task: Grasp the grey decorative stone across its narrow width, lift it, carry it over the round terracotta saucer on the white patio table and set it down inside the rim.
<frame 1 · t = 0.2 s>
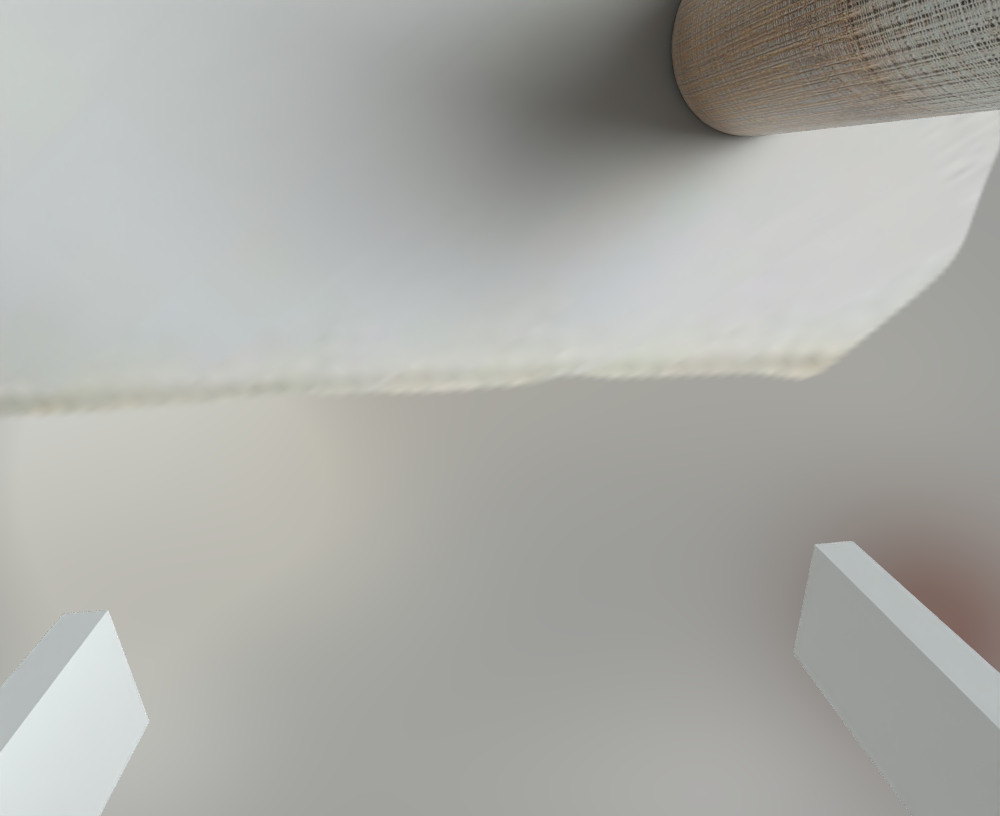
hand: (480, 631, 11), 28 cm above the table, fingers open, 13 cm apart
vase: (753, 40, 33), on the table
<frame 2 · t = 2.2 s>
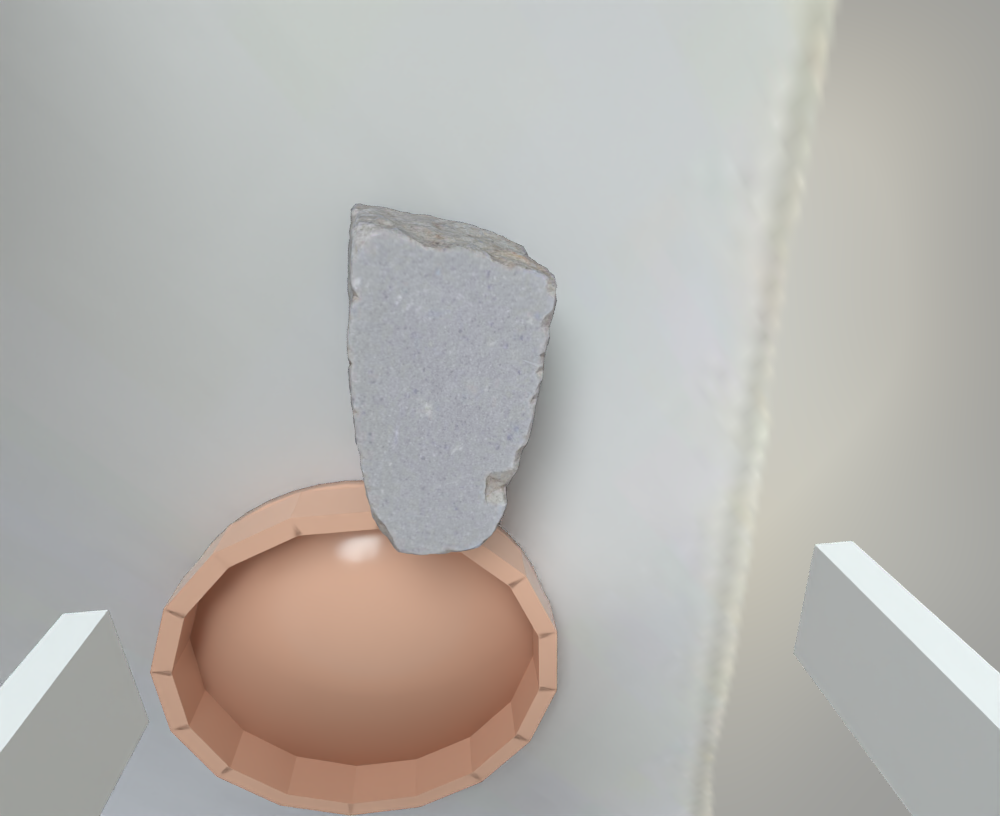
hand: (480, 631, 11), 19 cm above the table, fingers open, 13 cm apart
saucer: (370, 637, 34), on the table
decorative stone: (445, 346, 29), on the table
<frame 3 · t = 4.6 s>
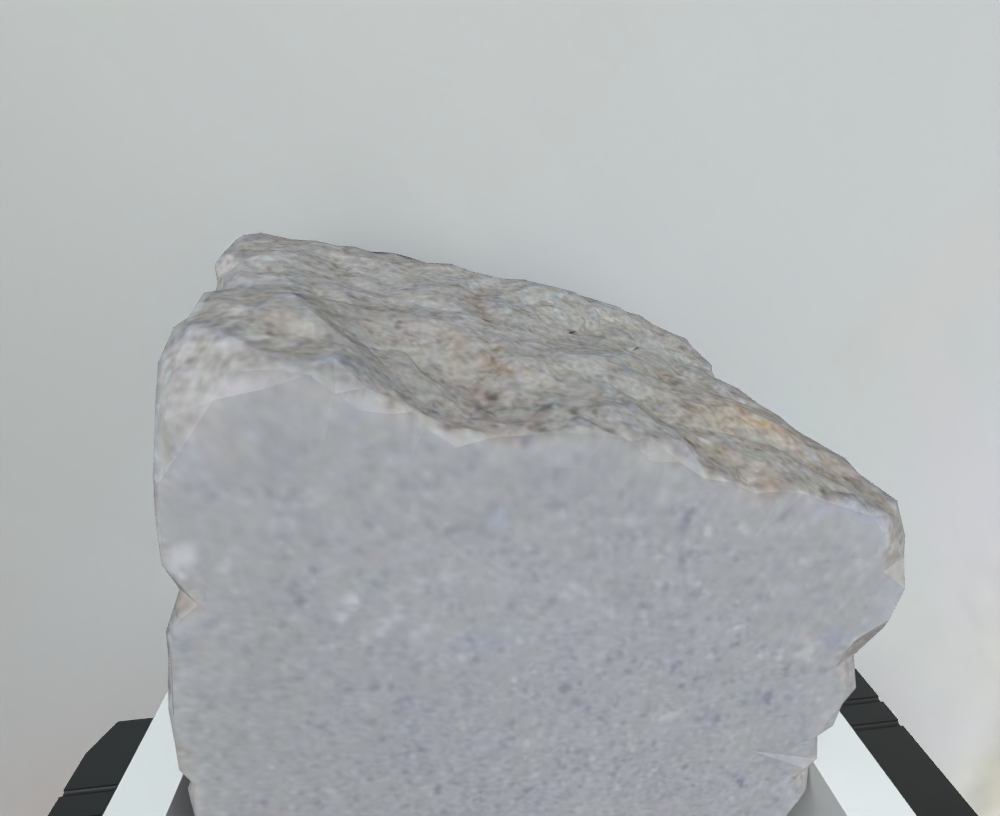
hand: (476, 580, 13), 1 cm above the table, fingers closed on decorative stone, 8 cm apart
decorative stone: (478, 531, 13), on the table, touching gripper
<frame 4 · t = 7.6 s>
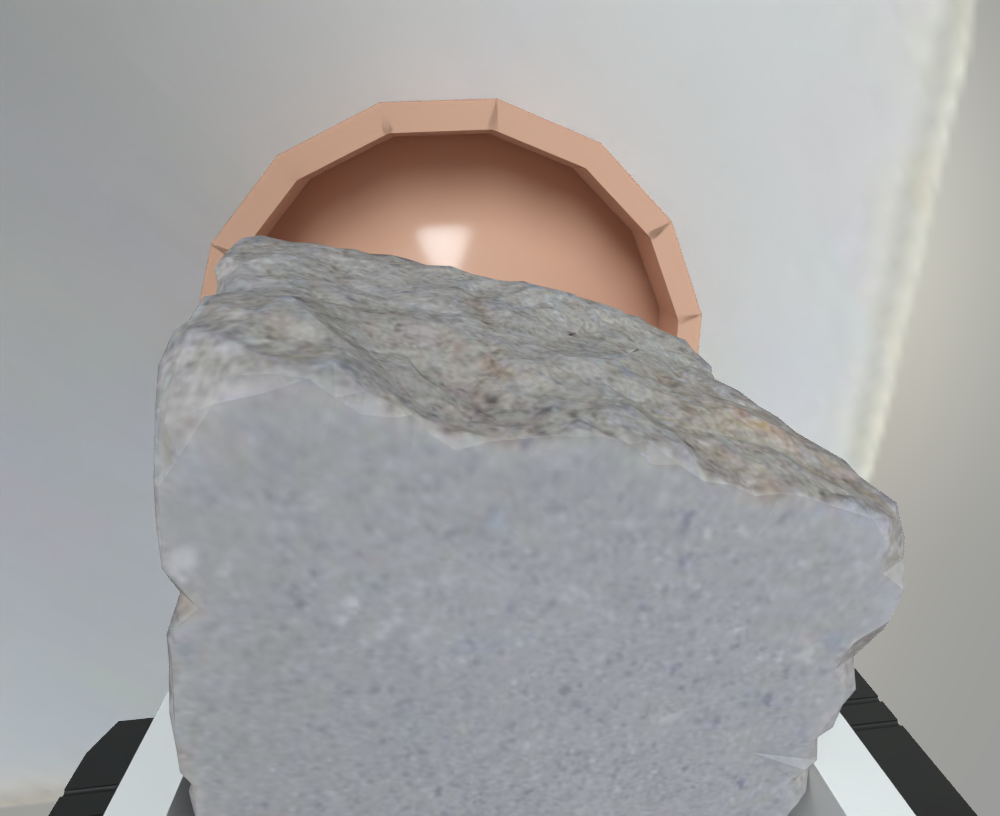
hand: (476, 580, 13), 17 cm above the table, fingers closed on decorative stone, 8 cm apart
saucer: (456, 355, 28), on the table
decorative stone: (478, 532, 13), point 16 cm above the table, touching gripper
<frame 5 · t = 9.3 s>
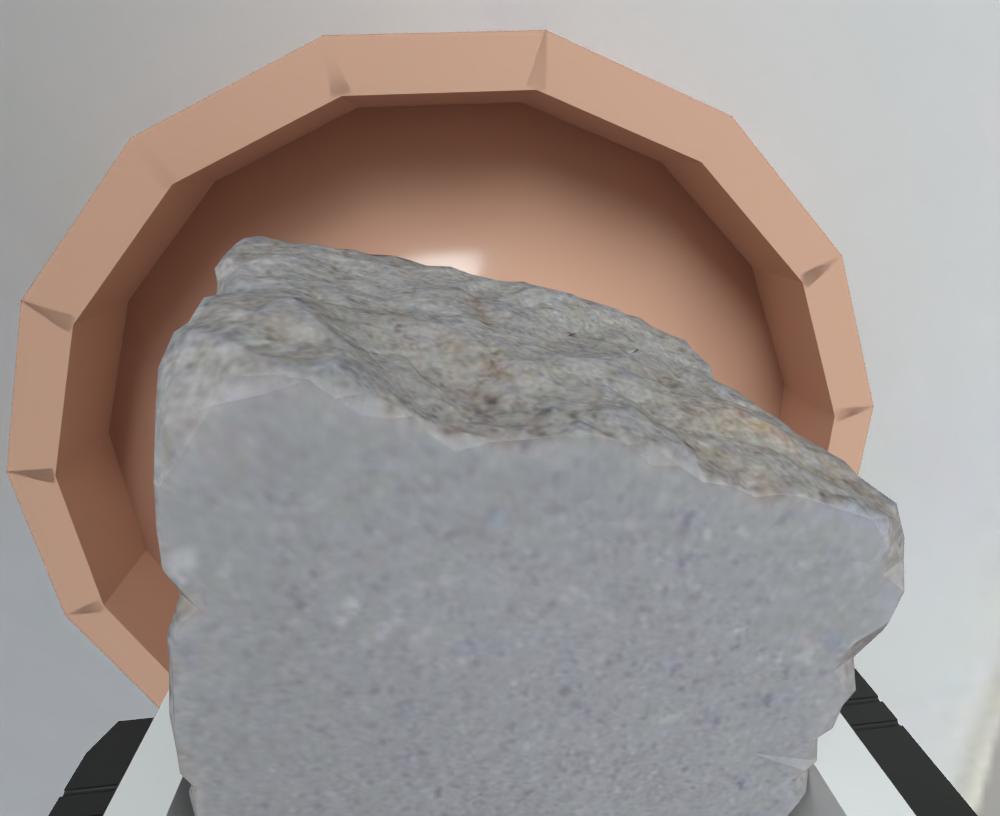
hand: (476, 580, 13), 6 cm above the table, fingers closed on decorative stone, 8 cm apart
saucer: (463, 454, 18), on the table
decorative stone: (478, 533, 13), point 5 cm above the table, touching gripper
when the fingers open (4 cm above the table, at t = 10.7 s): decorative stone drops 2 cm, resting on saucer.
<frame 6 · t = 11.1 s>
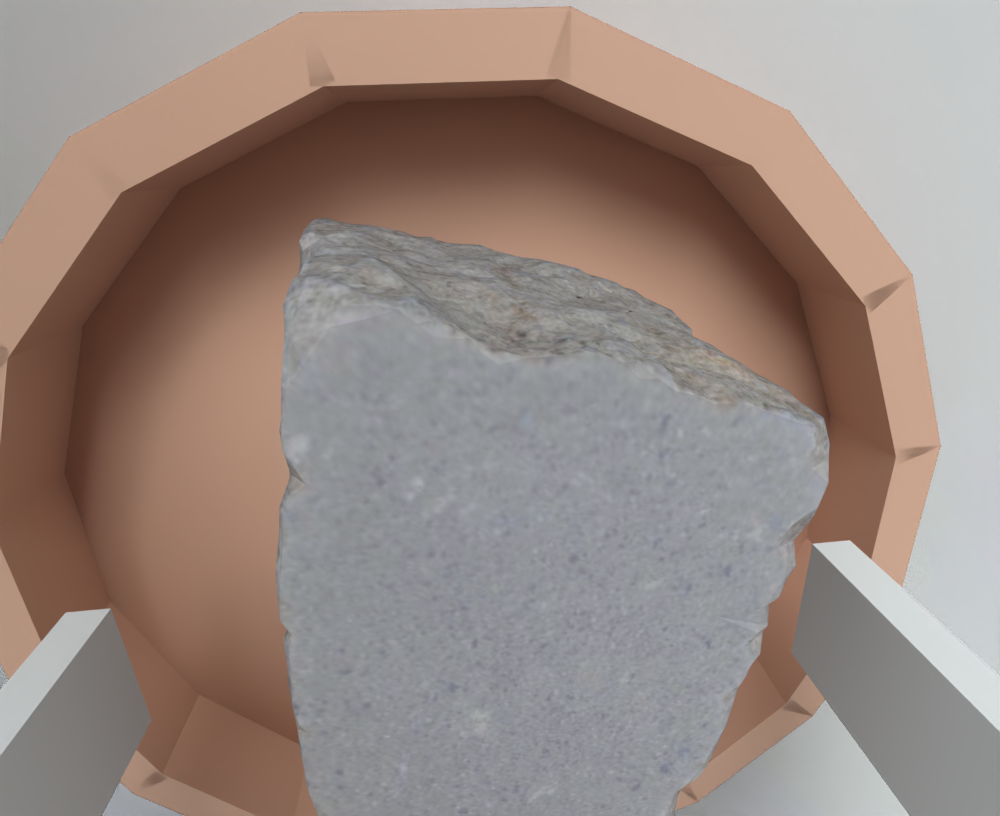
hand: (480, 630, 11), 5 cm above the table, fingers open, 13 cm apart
saucer: (468, 493, 16), on the table
decorative stone: (493, 483, 15), point 1 cm above the table, touching saucer
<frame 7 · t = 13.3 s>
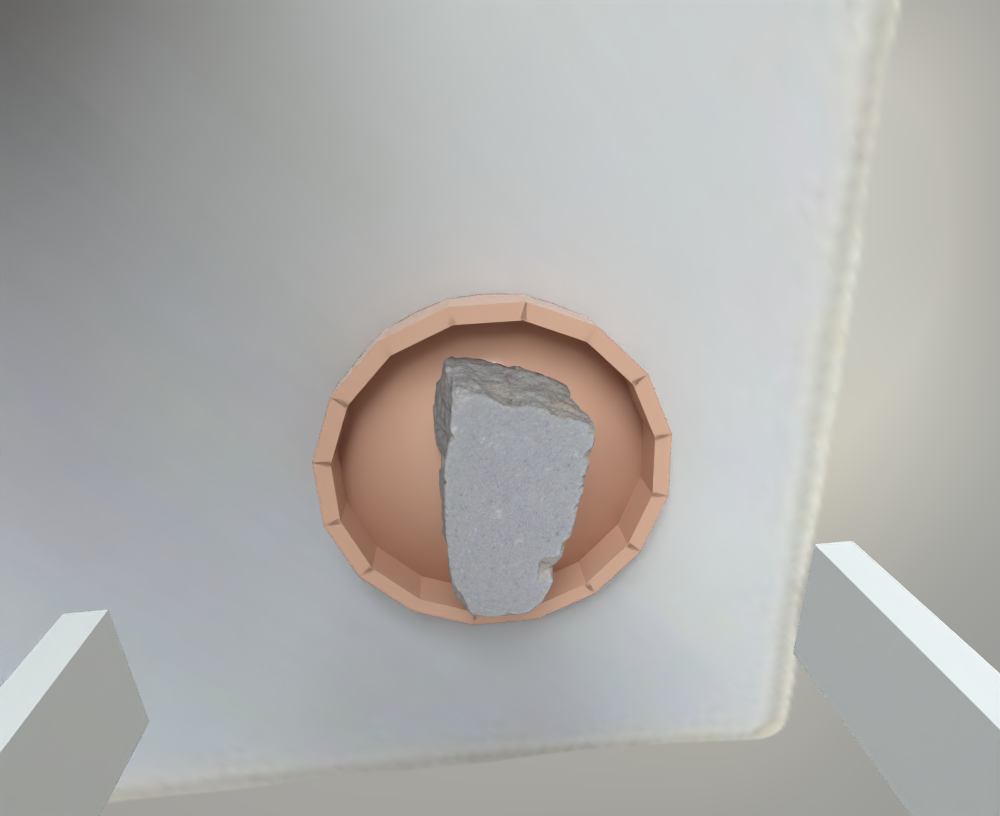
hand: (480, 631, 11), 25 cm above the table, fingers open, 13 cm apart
saucer: (493, 456, 38), on the table
decorative stone: (502, 450, 37), point 1 cm above the table, touching saucer
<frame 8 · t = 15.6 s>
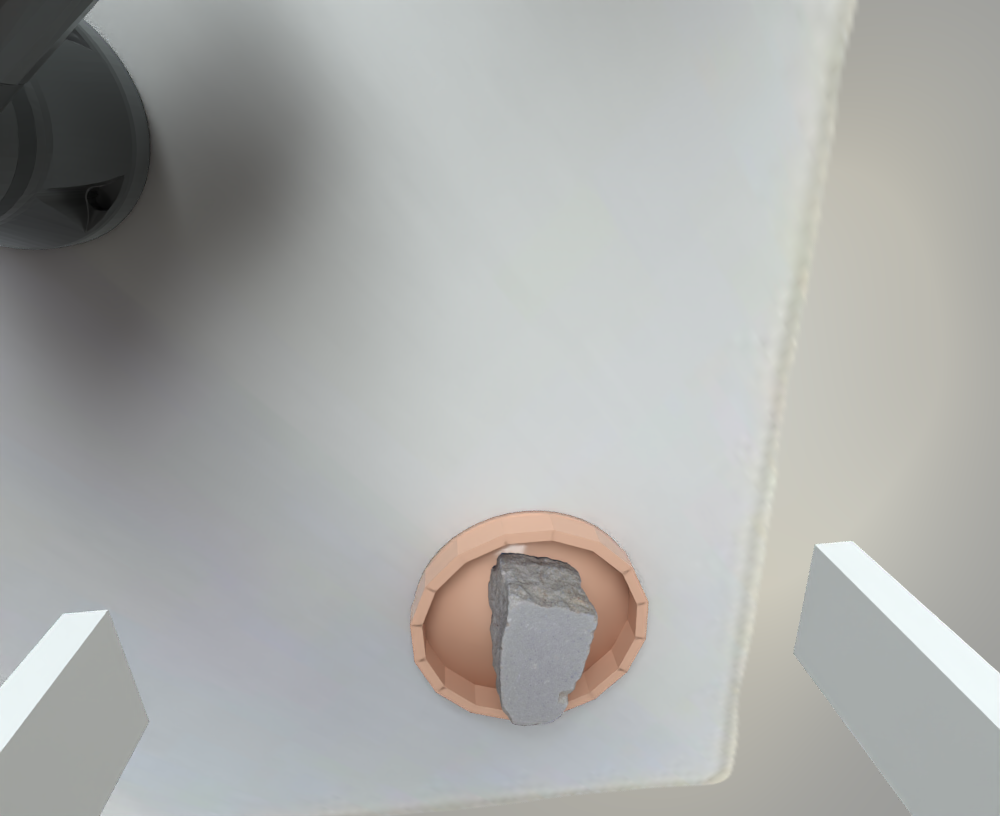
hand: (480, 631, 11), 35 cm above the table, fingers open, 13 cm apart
saucer: (526, 607, 55), on the table
decorative stone: (532, 604, 54), point 1 cm above the table, touching saucer
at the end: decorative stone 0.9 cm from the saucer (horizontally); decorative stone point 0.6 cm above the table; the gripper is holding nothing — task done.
